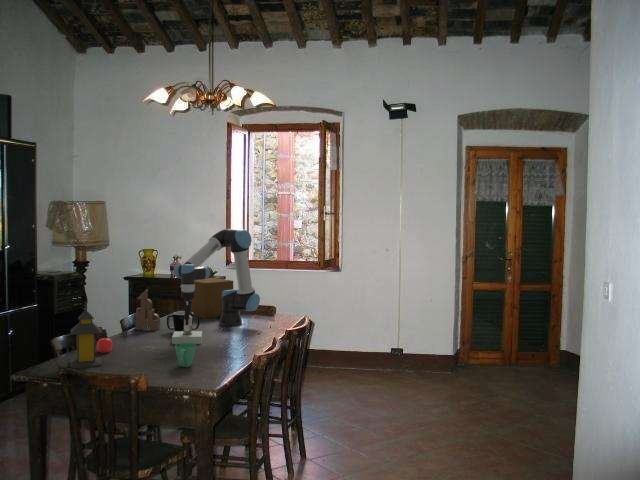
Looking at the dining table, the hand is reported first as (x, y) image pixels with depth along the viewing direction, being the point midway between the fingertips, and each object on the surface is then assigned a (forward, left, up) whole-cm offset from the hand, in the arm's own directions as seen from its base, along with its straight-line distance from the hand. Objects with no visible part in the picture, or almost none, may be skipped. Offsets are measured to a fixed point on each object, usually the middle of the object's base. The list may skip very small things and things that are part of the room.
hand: (187, 328), depth 345 cm
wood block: (-10, -90, -8) cm, 91 cm away
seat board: (0, 0, -7) cm, 7 cm away
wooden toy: (+27, -37, -8) cm, 46 cm away
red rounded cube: (+41, +24, -8) cm, 48 cm away
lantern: (+45, +49, -8) cm, 67 cm away
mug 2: (-2, +59, -7) cm, 60 cm away
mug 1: (+4, -25, -7) cm, 26 cm away
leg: (0, 0, -7) cm, 7 cm away
